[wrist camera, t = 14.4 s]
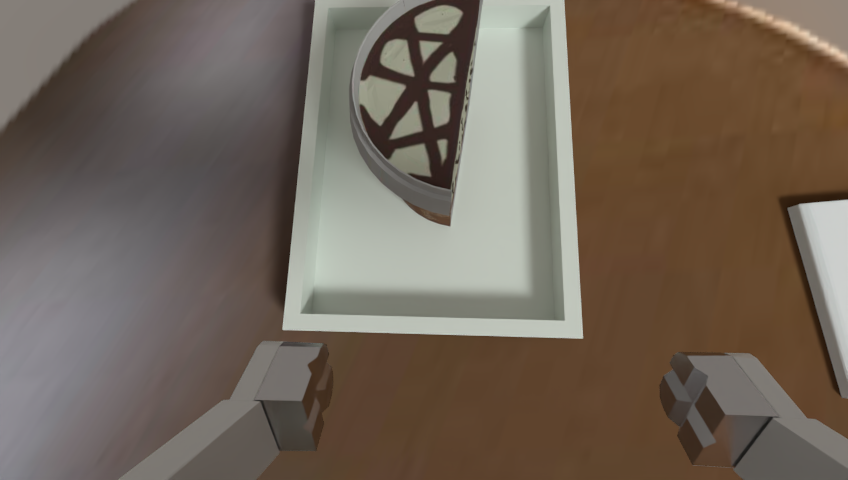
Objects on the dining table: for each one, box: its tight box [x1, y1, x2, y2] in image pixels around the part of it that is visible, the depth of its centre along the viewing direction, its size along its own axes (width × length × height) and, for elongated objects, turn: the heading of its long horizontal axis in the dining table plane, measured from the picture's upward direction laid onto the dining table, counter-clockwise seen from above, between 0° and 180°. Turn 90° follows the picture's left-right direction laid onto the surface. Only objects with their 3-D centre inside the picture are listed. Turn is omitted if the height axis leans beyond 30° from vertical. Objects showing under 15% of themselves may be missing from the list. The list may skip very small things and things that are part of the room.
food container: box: [349, 0, 483, 226], centre depth 24 cm, size 12×6×10 cm, turn 171°
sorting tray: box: [283, 0, 583, 339], centre depth 28 cm, size 18×24×3 cm
